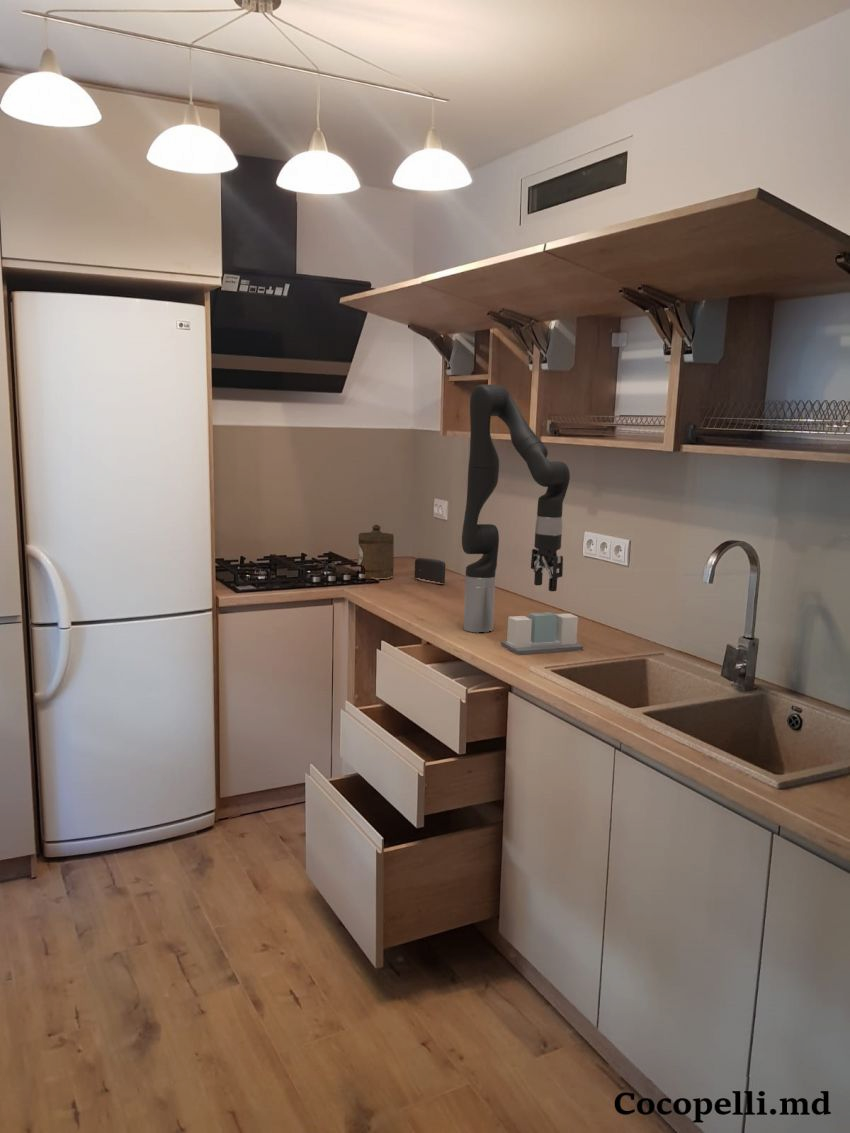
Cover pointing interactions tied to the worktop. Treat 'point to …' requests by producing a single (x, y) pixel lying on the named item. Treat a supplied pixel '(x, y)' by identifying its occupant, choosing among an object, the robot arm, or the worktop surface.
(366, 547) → the wooden container
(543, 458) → the robot arm
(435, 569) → the upright dark grey panel
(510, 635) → the board
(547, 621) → the block
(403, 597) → the worktop surface
